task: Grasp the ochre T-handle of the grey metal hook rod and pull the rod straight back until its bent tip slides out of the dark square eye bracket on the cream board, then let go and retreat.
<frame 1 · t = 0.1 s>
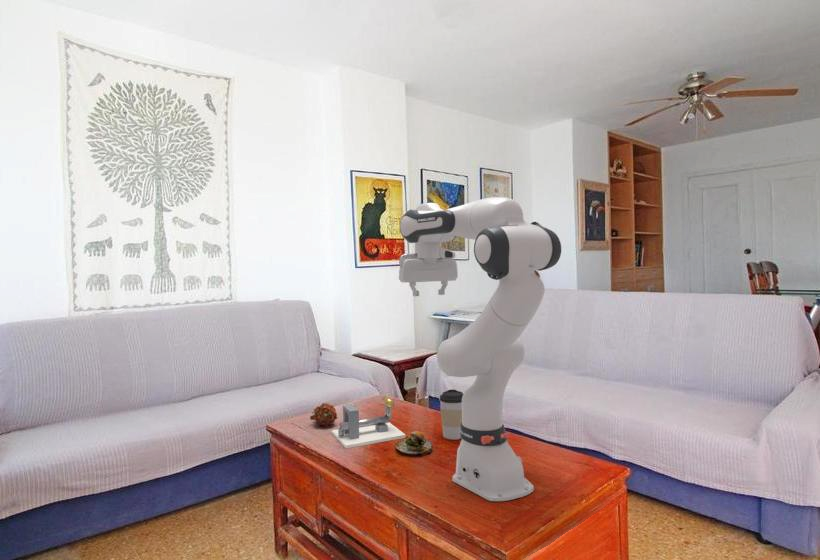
hand: (428, 295, 162), 48 cm above the table, tool pointing down, fingers open, 8 cm apart
dragon fruit: (324, 425, 180), on the table
burger: (414, 451, 154), on the table
coffee cup: (453, 436, 166), on the table
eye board: (363, 436, 167), on the table
hook: (365, 416, 167), point 7 cm above the table, slide at 0.0 cm
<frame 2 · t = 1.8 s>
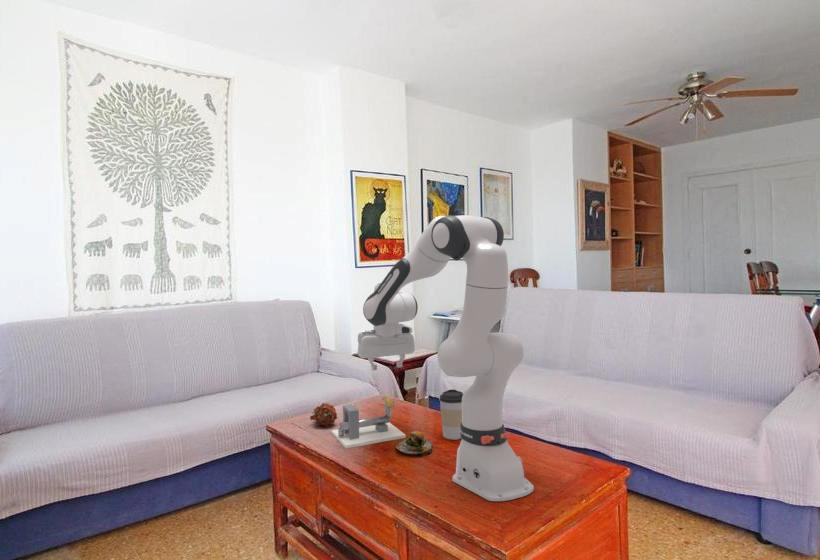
hand: (386, 368, 170), 22 cm above the table, tool pointing down, fingers open, 8 cm apart
nothing on the table moved.
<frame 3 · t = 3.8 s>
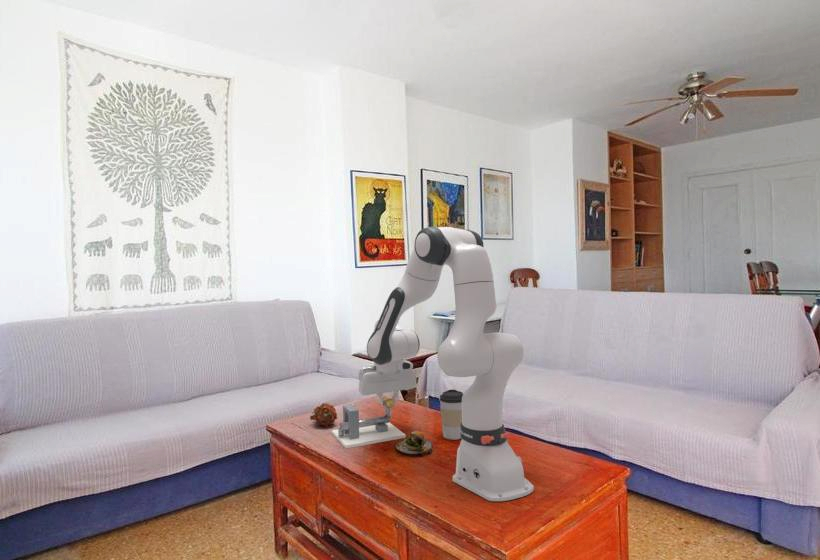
hand: (387, 404, 171), 10 cm above the table, tool pointing down, fingers closed on hook, 2 cm apart
hook: (365, 416, 167), point 7 cm above the table, slide at 0.0 cm, touching gripper
everything else where it was.
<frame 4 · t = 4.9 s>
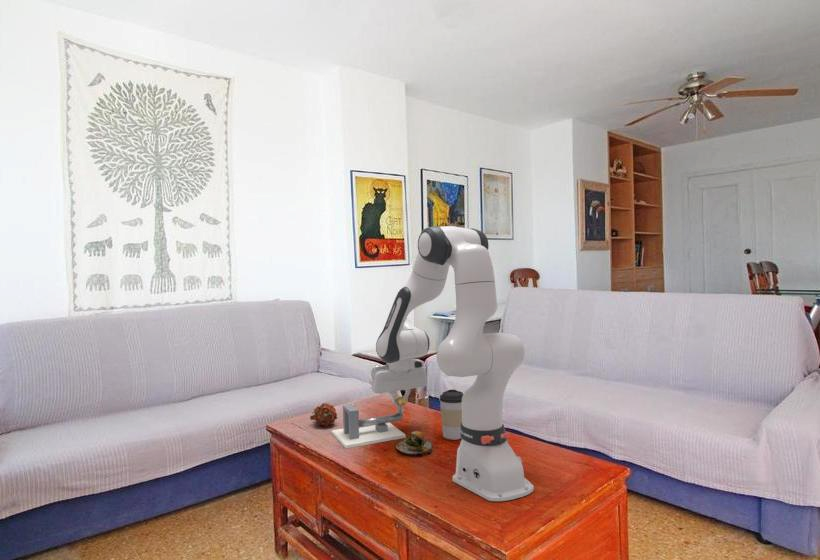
hand: (399, 402, 173), 10 cm above the table, tool pointing down, fingers closed on hook, 2 cm apart
hook: (377, 414, 169), point 7 cm above the table, slide at 4.6 cm, touching gripper
everything else where it was.
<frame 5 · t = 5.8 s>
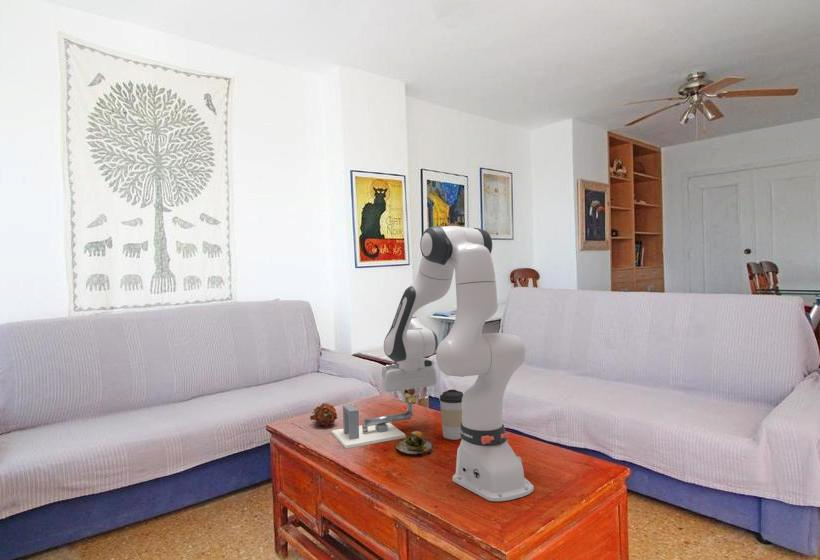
hand: (409, 401, 174), 10 cm above the table, tool pointing down, fingers closed on hook, 2 cm apart
hook: (388, 412, 171), point 7 cm above the table, slide at 8.4 cm, touching gripper
everything else where it was.
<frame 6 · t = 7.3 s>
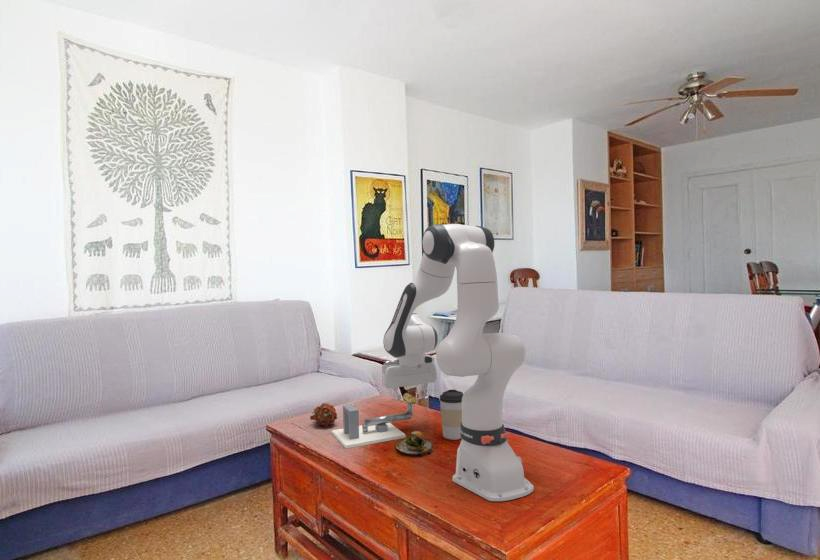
hand: (410, 397, 174), 11 cm above the table, tool pointing down, fingers open, 8 cm apart
hook: (388, 412, 171), point 7 cm above the table, slide at 8.5 cm
everything else where it was.
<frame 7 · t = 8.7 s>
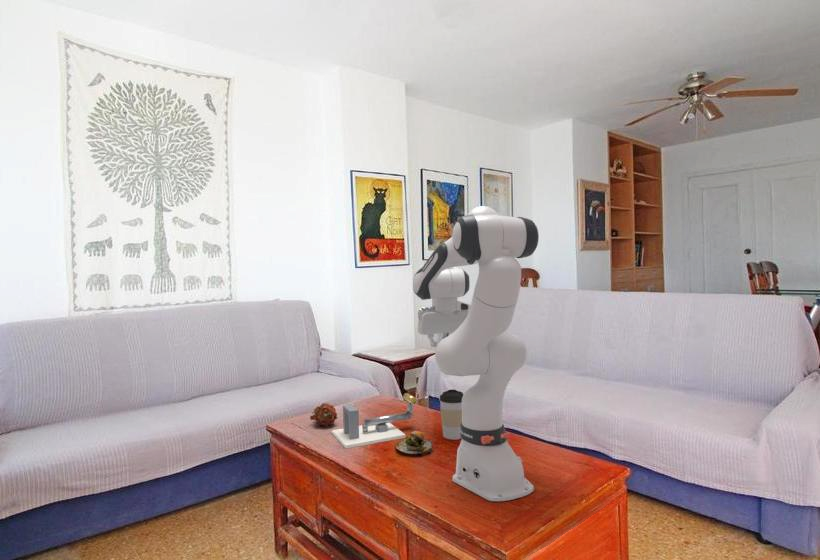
hand: (445, 345, 170), 30 cm above the table, tool pointing down, fingers open, 8 cm apart
nothing on the table moved.
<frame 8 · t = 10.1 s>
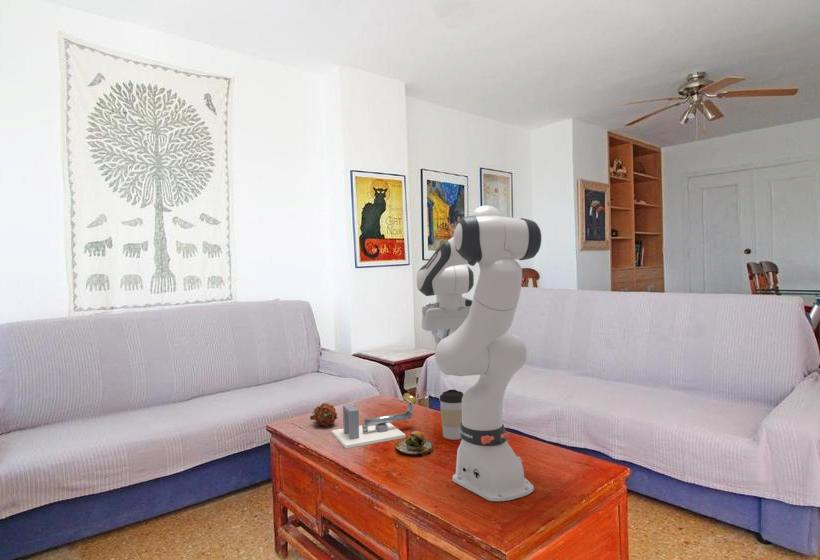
hand: (449, 341, 170), 31 cm above the table, tool pointing down, fingers open, 8 cm apart
nothing on the table moved.
at the end: hook slide at 8.5 cm; the gripper is holding nothing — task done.
